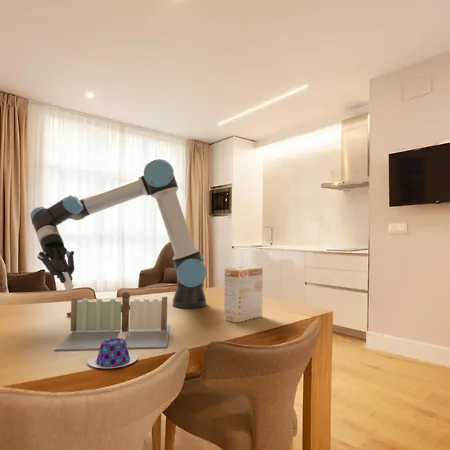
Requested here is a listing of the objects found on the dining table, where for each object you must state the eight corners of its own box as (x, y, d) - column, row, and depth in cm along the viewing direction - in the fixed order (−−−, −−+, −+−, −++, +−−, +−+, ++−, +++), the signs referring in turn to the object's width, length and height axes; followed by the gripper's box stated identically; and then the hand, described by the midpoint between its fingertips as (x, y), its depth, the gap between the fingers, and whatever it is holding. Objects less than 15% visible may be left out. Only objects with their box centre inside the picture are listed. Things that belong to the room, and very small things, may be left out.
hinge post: (129, 331, 112) (130, 290, 112) (128, 333, 109) (129, 292, 109) (121, 331, 111) (122, 290, 112) (120, 333, 109) (121, 292, 109)
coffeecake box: (249, 313, 139) (250, 265, 140) (262, 316, 134) (263, 267, 135) (223, 319, 129) (224, 267, 129) (236, 323, 124) (237, 269, 124)
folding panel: (120, 329, 111) (121, 296, 111) (119, 330, 109) (120, 298, 109) (71, 329, 109) (72, 297, 109) (69, 331, 107) (70, 298, 107)
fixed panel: (166, 330, 113) (167, 296, 113) (166, 332, 111) (167, 297, 111) (130, 331, 111) (131, 296, 112) (129, 333, 109) (130, 297, 110)
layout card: (169, 326, 118) (169, 324, 118) (167, 347, 96) (167, 346, 96) (79, 327, 114) (79, 326, 114) (54, 350, 92) (54, 349, 92)
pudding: (76, 366, 82) (76, 344, 82) (110, 351, 93) (110, 331, 93) (116, 374, 78) (117, 351, 78) (147, 357, 89) (147, 337, 89)
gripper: (35, 232, 123) (54, 284, 112) (71, 233, 133) (91, 280, 122) (29, 246, 126) (47, 298, 115) (64, 246, 136) (83, 293, 125)
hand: (70, 288), depth 119 cm, fingers closed
